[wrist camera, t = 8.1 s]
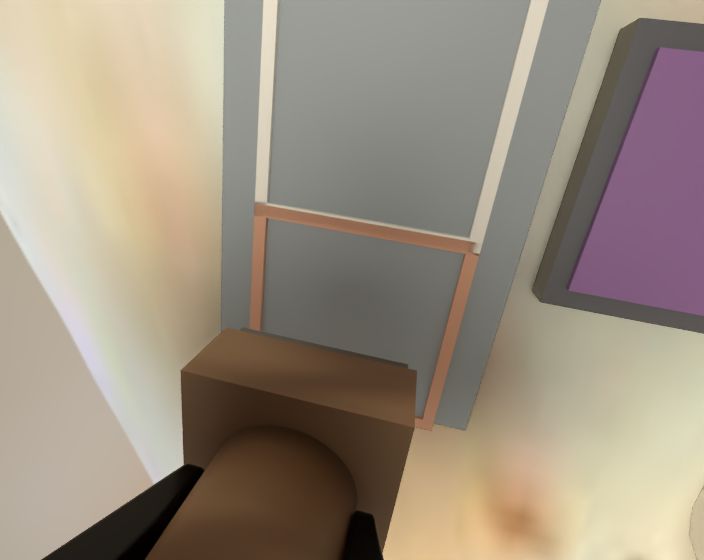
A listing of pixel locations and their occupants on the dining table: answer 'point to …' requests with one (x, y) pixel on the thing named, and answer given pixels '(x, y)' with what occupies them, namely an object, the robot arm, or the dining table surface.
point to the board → (390, 173)
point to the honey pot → (698, 526)
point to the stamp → (287, 448)
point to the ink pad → (637, 187)
